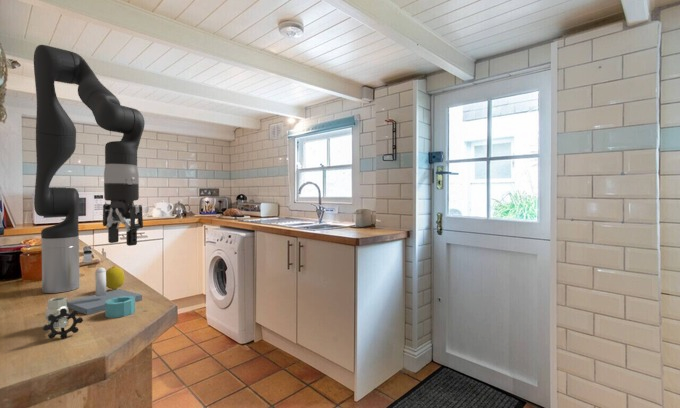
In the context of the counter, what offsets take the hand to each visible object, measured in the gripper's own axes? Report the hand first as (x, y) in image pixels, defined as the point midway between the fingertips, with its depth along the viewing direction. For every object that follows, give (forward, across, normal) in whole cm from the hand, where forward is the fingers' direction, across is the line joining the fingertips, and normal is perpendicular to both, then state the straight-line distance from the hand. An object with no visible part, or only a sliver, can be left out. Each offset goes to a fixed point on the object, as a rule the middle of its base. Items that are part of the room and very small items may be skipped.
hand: (122, 243), depth 86 cm
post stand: (+18, -12, 0) cm, 22 cm away
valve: (+19, 0, -14) cm, 23 cm away
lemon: (+18, -23, +10) cm, 31 cm away
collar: (+18, 0, -1) cm, 18 cm away
